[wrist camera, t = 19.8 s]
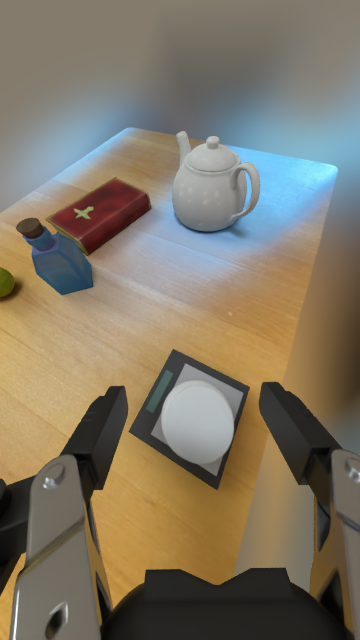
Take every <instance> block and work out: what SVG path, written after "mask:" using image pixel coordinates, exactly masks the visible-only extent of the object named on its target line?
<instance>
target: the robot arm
mask: <svg viewBox="0 0 360 640" xmlns="http://www.w3.org/2000/svg"><path fill="white" fill-rule="evenodd" d="M259 409H260V413H261V415H262V417H263V419H264V421H265V422H266V424H267V426H268V428H269V430H270V432H271V434H272V436H273V438H274V439H275V441H276V443H277V445H278V447H279V449H280V451H281V453H282V454H283V456H284V458H285V460H286V462H287V464H288V466H289V467H290V470H291V472H292V473H293V475H294V477H295V479H296V481H297V483H298V485H309V486H310V488H311V489H312V491H313V493H314V495H315V496H314V553H313V554H314V555H313V563H312V568H311V575H310V586H309V593H307V592H306V591H305V590H304V589H302V588H300V587H299V586H297V585H295V584H293V583H291V582H290V580H289V577H288V574H287V571H286V568H251V569H249V570H247V571H245V572H243V573H241V574H239V575H237V576H235V577H234V578H232V579H230V580H228V581H226V582H224V583H222V584H220V585H214V584H211V583H209V582H207V581H205V580H203V579H200V578H198V577H196V576H194V575H192V574H189V573H187V572H185V571H183V570H180V569H163V570H146V573H145V582H144V583H142V584H140V585H138V586H137V587H136V588H134V589H133V590H132V591H130V592H129V593H128V594H127V595H126V596H125V597H124V598H123V599H122V600H121V601H120V602H119V603H118V604H117V606H116V607H115V608H114V609H113V604H112V599H111V594H110V589H109V584H108V580H107V576H106V572H105V568H104V564H103V560H102V555H101V550H100V545H99V540H98V534H97V529H96V524H95V519H94V514H93V508H92V503H91V500H90V499H91V496H92V494H93V491H94V490H103V487H104V484H105V481H106V478H107V475H108V472H109V469H110V466H111V463H112V460H113V457H114V455H115V452H116V449H117V446H118V443H119V440H120V437H121V434H122V431H123V428H124V425H125V422H126V419H127V415H128V403H127V397H126V391H125V387H124V386H110V387H109V388H108V390H107V392H106V394H105V396H99V397H98V398H97V399H96V400H95V401H94V402H93V403H92V404H91V405H90V407H89V408H88V410H87V412H86V414H85V415H84V417H83V418H82V420H81V422H80V423H79V425H78V426H77V428H76V429H75V431H74V433H73V434H72V436H71V438H70V439H69V441H68V442H67V444H66V446H65V447H64V449H63V451H62V452H61V454H60V455H59V456H58V457H56V458H54V459H53V460H51V461H50V462H49V463H47V464H46V465H45V466H44V467H43V468H42V469H41V470H40V471H39V473H38V474H36V475H34V476H32V477H29V478H27V479H24V480H21V481H18V482H15V483H13V484H10V485H6V483H5V482H4V480H2V479H0V596H1V594H2V592H3V590H4V588H5V586H6V584H7V582H8V580H9V578H10V576H11V574H12V572H13V570H14V568H15V566H16V564H17V562H18V560H19V558H20V556H21V554H23V553H25V552H26V561H25V565H24V568H23V569H22V570H21V571H20V572H19V574H18V576H17V579H16V583H15V588H14V595H13V605H12V615H11V625H10V635H9V640H360V456H359V455H357V454H355V453H353V452H351V451H348V450H344V449H343V448H342V447H341V446H340V445H339V444H338V443H337V442H336V440H335V439H334V438H333V437H332V436H331V435H330V434H329V432H328V431H327V430H326V429H325V428H324V427H323V425H322V424H321V423H320V422H319V421H318V420H317V418H316V417H314V416H313V414H312V413H311V412H310V410H309V409H307V408H306V406H305V405H304V404H303V402H302V401H301V400H300V399H299V398H298V397H296V396H295V395H294V394H292V393H291V392H289V391H285V390H284V388H283V387H282V386H281V385H280V384H279V383H278V382H263V383H262V386H261V392H260V398H259Z"/></svg>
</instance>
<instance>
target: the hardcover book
mask: <svg viewBox="0 0 360 640" xmlns="http://www.w3.org/2000/svg"><path fill="white" fill-rule="evenodd" d="M150 208H151V204H150V198H149V195H148V192H146V191H144V190H142V189H139V188H137V187H135V186H133V185H131V184H129V183H127V182H124V181H122V180H120V179H118V178H116V177H115V178H113V179H111V180H110V181H108V182H106V183H105V184H103V185H101V186H100V187H98V188H96V189H94V190H93V191H91V192H89V193H88V194H86V195H84V196H83V197H81V198H79V199H78V200H76V201H74V202H73V203H71V204H69V205H68V206H66V207H64V208H63V209H61V210H59V211H57V212H56V213H54V214H52V215H51V216H49V217H47V218H46V219H45V220H46V221H48V222H49V223H50V224H52V225H53V227H54V228H55V229H56V230H57V233H56V234H60V235H63V236H65V237H67V238H69V239H72V240H74V242H75V243H76V245H77V246H78V247H79V249H80V250H81V252H82V253H84V254H85V255H89V254H90V253H92V252H93V251H94V250H96V249H97V248H98V247H100V246H101V245H102V244H104V243H105V242H106V241H108V240H109V239H110V238H112V237H113V236H114V235H116V234H117V233H118V232H120V231H121V230H122V229H124V228H125V227H126V226H128V225H129V224H131V223H132V222H133V221H135V220H136V219H137V218H139V217H140V216H141V215H143V214H144V213H145V212H147V211H148V210H149V209H150Z"/></svg>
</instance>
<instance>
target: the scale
mask: <svg viewBox="0 0 360 640" xmlns="http://www.w3.org/2000/svg"><path fill="white" fill-rule="evenodd" d="M194 379H195V380H203V381H207V382H209V383H211V384H213V385H214V386H216V387H217V388H218V389H219V390H220V391H221V392H222V393H223V394H224V395H225V397H226V398H227V400H228V402H229V404H230V406H231V409H232V413H233V420H234V433H233V438H232V442H233V439H234V436H235V433H236V429H237V426H238V423H239V420H240V417H241V414H242V410H243V407H244V404H245V401H246V398H247V395H248V391H249V388H250V387H248V386H246V385H244V384H242V383H240V382H238V381H236V380H234V379H232V378H230V377H228V376H226V375H224V374H222V373H220V372H218V371H216V370H214V369H212V368H210V367H208V366H206V365H204V364H202V363H200V362H198V361H196V360H194V359H192V358H190V357H188V356H186V355H184V354H182V353H180V352H178V351H176V350H174V349H173V350H172V352H171V354H170V356H169V358H168V359H167V361H166V363H165V365H164V367H163V369H162V371H161V372H160V374H159V376H158V378H157V380H156V382H155V384H154V385H153V387H152V389H151V391H150V393H149V395H148V397H147V398H146V400H145V402H144V404H143V406H142V408H141V410H140V411H139V413H138V415H137V417H136V419H135V421H134V422H133V424H132V426H131V428H130V430H129V432H130V433H131V434H133V435H134V436H136V437H138V438H139V439H141V440H142V441H144V442H145V443H147V444H148V445H150V446H151V447H153V448H154V449H156V450H157V451H159V452H160V453H162V454H163V455H165V456H166V457H168V458H169V459H171V460H172V461H174V462H175V463H177V464H178V465H180V466H181V467H183V468H184V469H186V470H187V471H189V472H190V473H192V474H193V475H195V476H196V477H198V478H199V479H201V480H202V481H204V482H205V483H207V484H208V485H210V486H211V487H213V488H214V489H216V490H218V486H219V483H220V480H221V477H222V474H223V471H224V467H225V464H226V461H227V458H228V455H229V452H230V448H231V445H232V442H231V444H230V446H229V448H228V450H227V451H226V452H225V454H224V455H223V456H222V457H221V458H219V459H218V460H216V461H214V462H212V463H208V464H195V463H192V462H189V461H187V460H185V459H183V458H181V457H180V456H178V455H177V454H176V453H175V452H174V451H173V450H172V449H171V447H170V446H169V445H168V443H167V441H166V439H165V437H164V434H163V431H162V425H161V413H162V408H163V404H164V402H165V400H166V398H167V396H168V394H169V393H170V392H171V391H172V389H173V388H175V387H176V386H177V385H179V384H180V383H182V382H185V381H188V380H194Z"/></svg>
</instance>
